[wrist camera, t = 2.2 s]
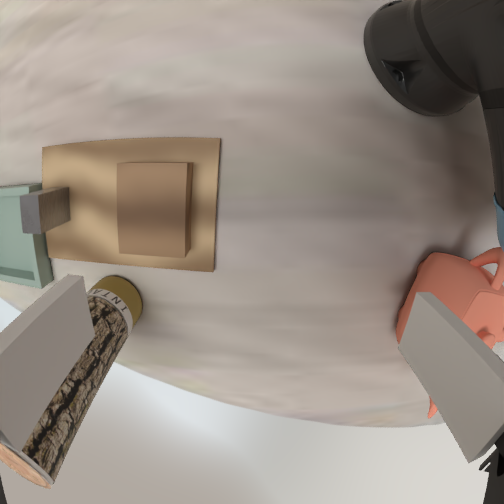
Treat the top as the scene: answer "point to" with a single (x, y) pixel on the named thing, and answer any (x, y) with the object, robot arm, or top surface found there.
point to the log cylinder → (78, 383)
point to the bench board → (105, 198)
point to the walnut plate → (154, 208)
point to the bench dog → (44, 209)
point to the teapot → (462, 294)
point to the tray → (21, 242)
